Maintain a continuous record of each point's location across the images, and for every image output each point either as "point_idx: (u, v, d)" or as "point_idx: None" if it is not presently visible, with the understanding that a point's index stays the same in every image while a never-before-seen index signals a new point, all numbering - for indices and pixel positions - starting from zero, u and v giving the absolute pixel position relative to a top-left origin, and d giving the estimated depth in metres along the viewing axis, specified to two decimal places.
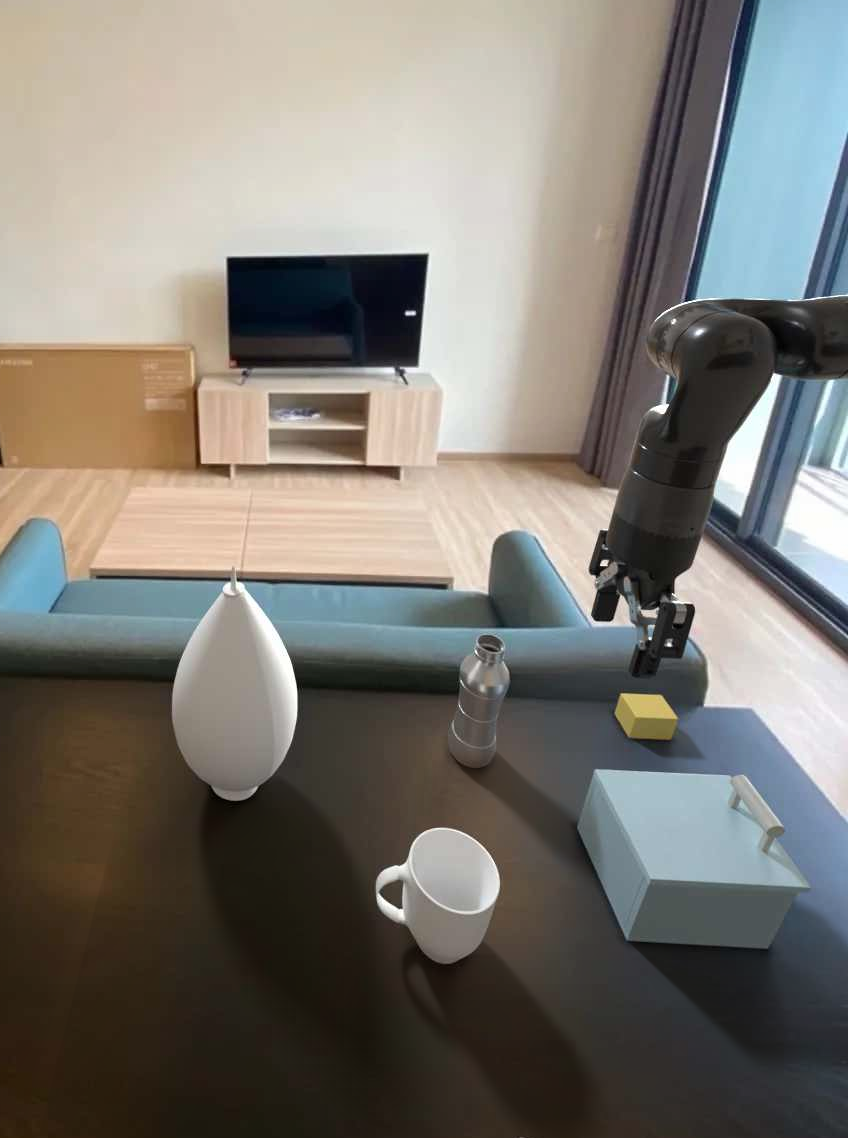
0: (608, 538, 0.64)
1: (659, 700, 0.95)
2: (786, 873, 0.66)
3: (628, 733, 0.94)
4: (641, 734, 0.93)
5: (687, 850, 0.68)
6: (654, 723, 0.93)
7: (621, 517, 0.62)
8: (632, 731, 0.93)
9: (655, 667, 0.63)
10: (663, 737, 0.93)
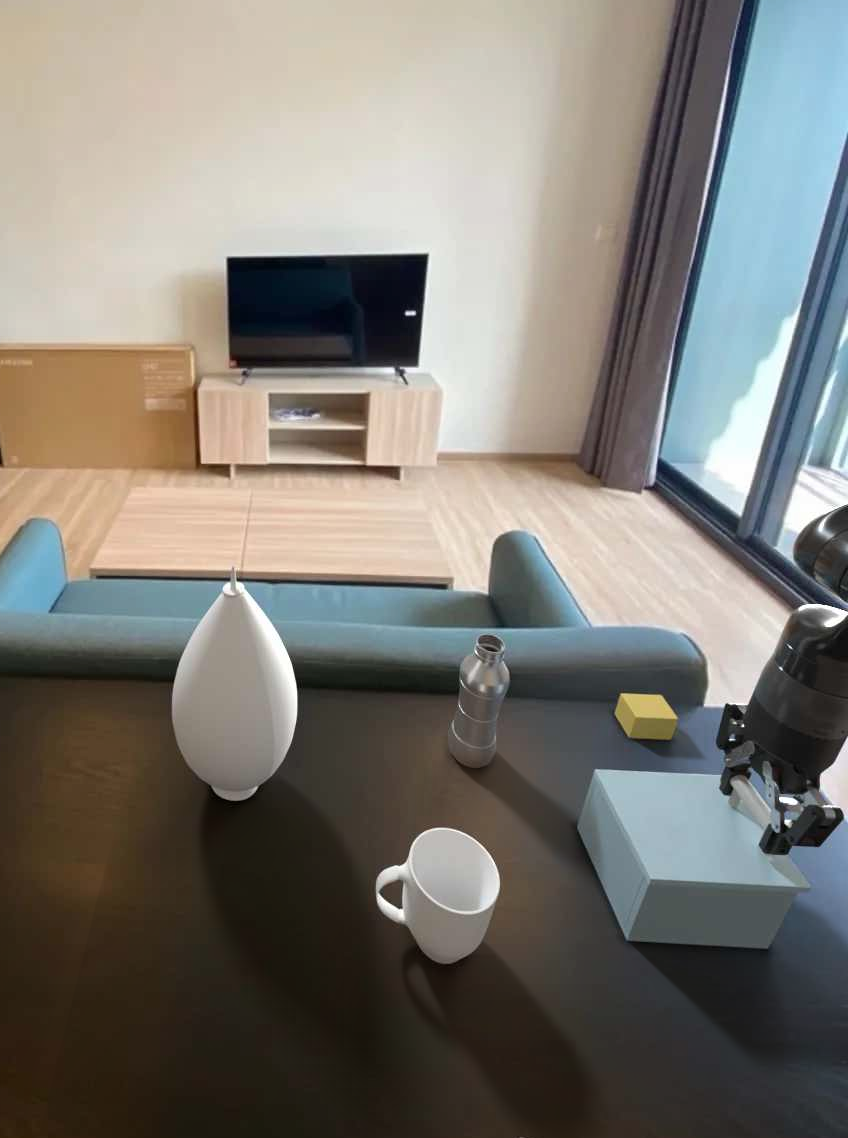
0: (748, 723, 0.66)
1: (659, 700, 0.95)
2: (786, 873, 0.66)
3: (628, 733, 0.94)
4: (641, 734, 0.93)
5: (687, 850, 0.68)
6: (654, 723, 0.93)
7: (766, 709, 0.64)
8: (632, 731, 0.93)
9: (788, 847, 0.66)
10: (663, 737, 0.93)
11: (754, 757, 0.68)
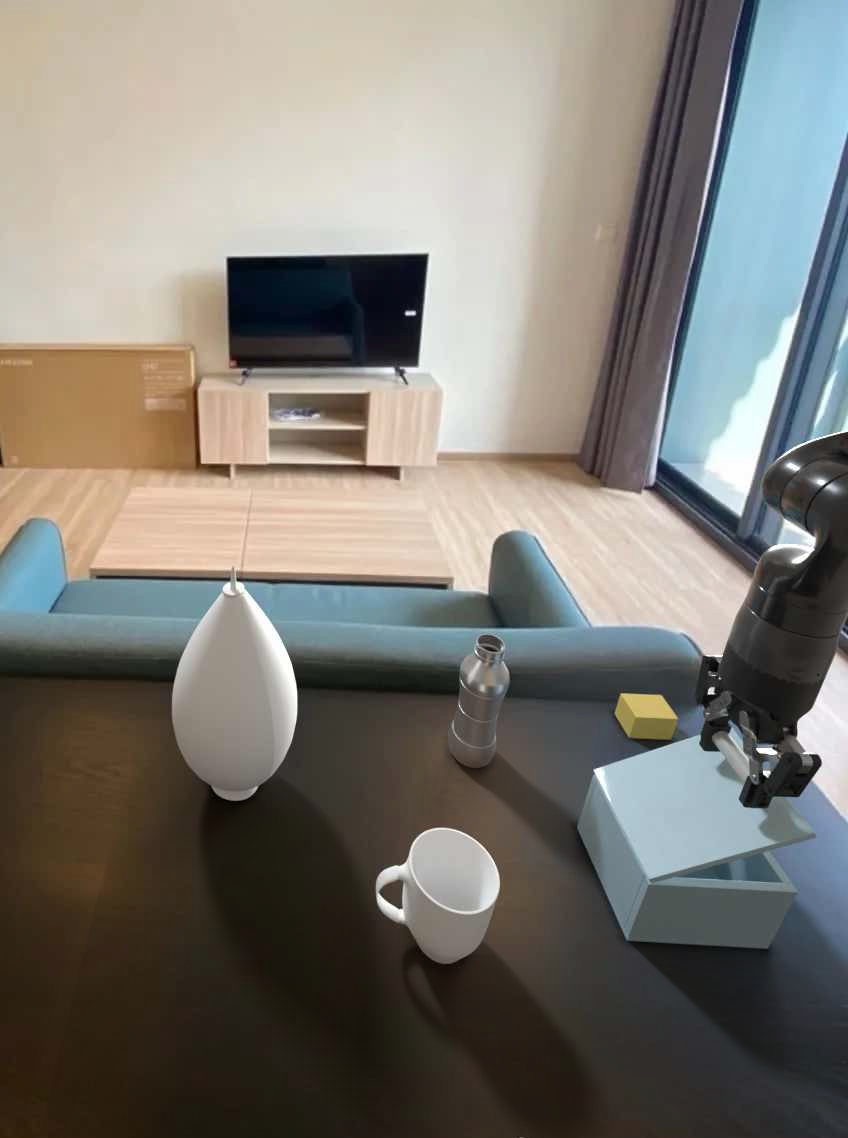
0: (722, 672, 0.64)
1: (659, 700, 0.95)
2: (787, 824, 0.63)
3: (628, 733, 0.94)
4: (641, 734, 0.93)
5: (685, 832, 0.67)
6: (654, 723, 0.93)
7: (739, 656, 0.61)
8: (632, 731, 0.93)
9: (768, 800, 0.63)
10: (663, 737, 0.93)
11: (732, 708, 0.66)
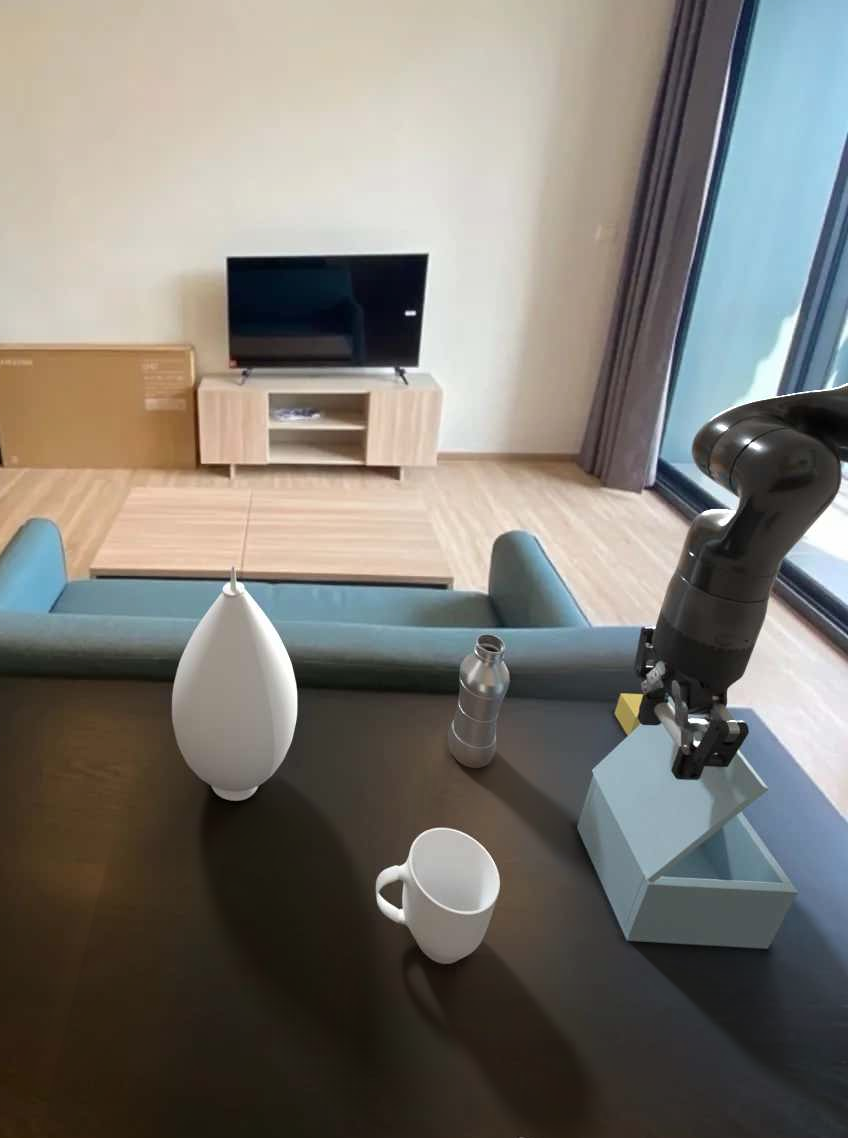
0: (655, 641, 0.62)
1: None
2: (740, 783, 0.61)
3: (628, 733, 0.94)
4: None
5: (666, 819, 0.66)
6: None
7: (670, 623, 0.60)
8: (632, 731, 0.93)
9: (699, 771, 0.62)
10: None
11: (666, 679, 0.65)
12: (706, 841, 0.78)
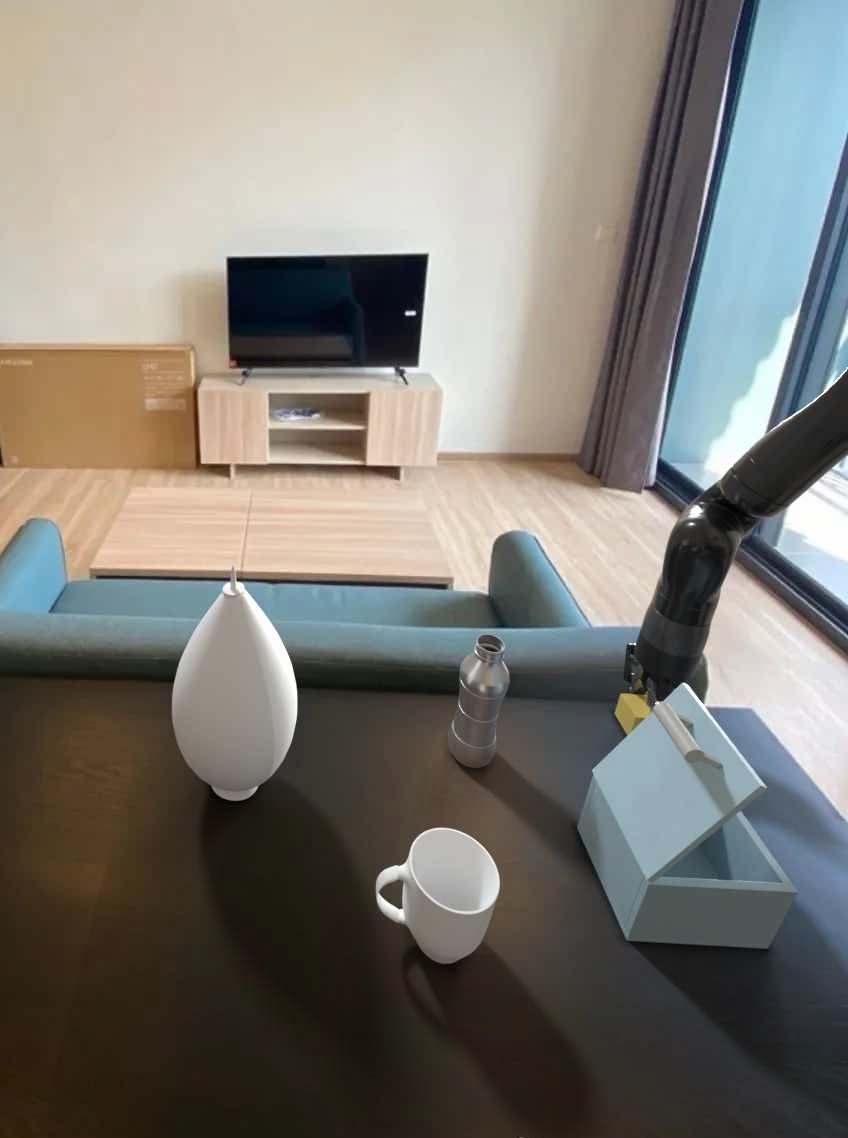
0: (636, 650, 0.91)
1: None
2: (739, 783, 0.61)
3: (628, 733, 0.94)
4: None
5: (665, 818, 0.66)
6: None
7: (646, 639, 0.89)
8: None
9: None
10: None
11: (644, 678, 0.94)
12: (706, 841, 0.78)
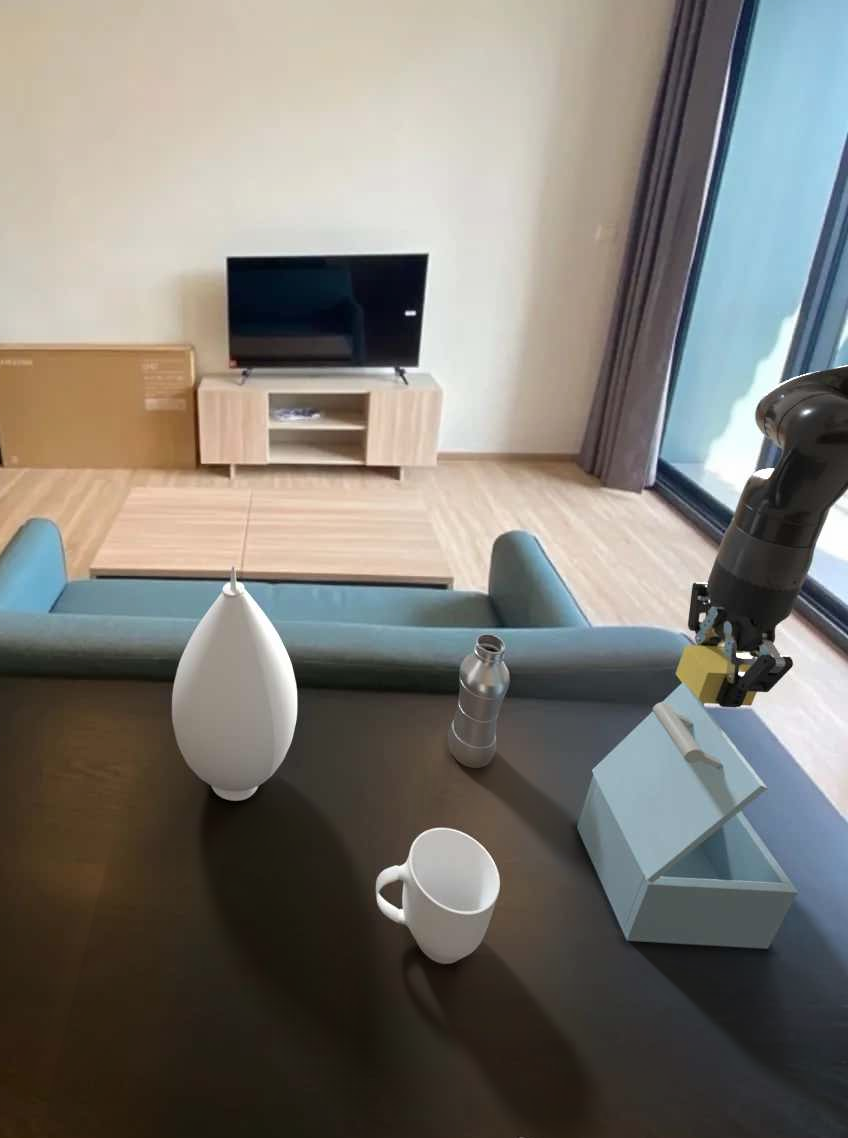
0: (710, 586, 0.71)
1: None
2: (739, 783, 0.61)
3: (697, 694, 0.73)
4: (714, 695, 0.73)
5: (665, 818, 0.66)
6: None
7: (725, 569, 0.68)
8: (702, 691, 0.73)
9: (742, 698, 0.71)
10: None
11: (719, 623, 0.73)
12: (706, 841, 0.78)
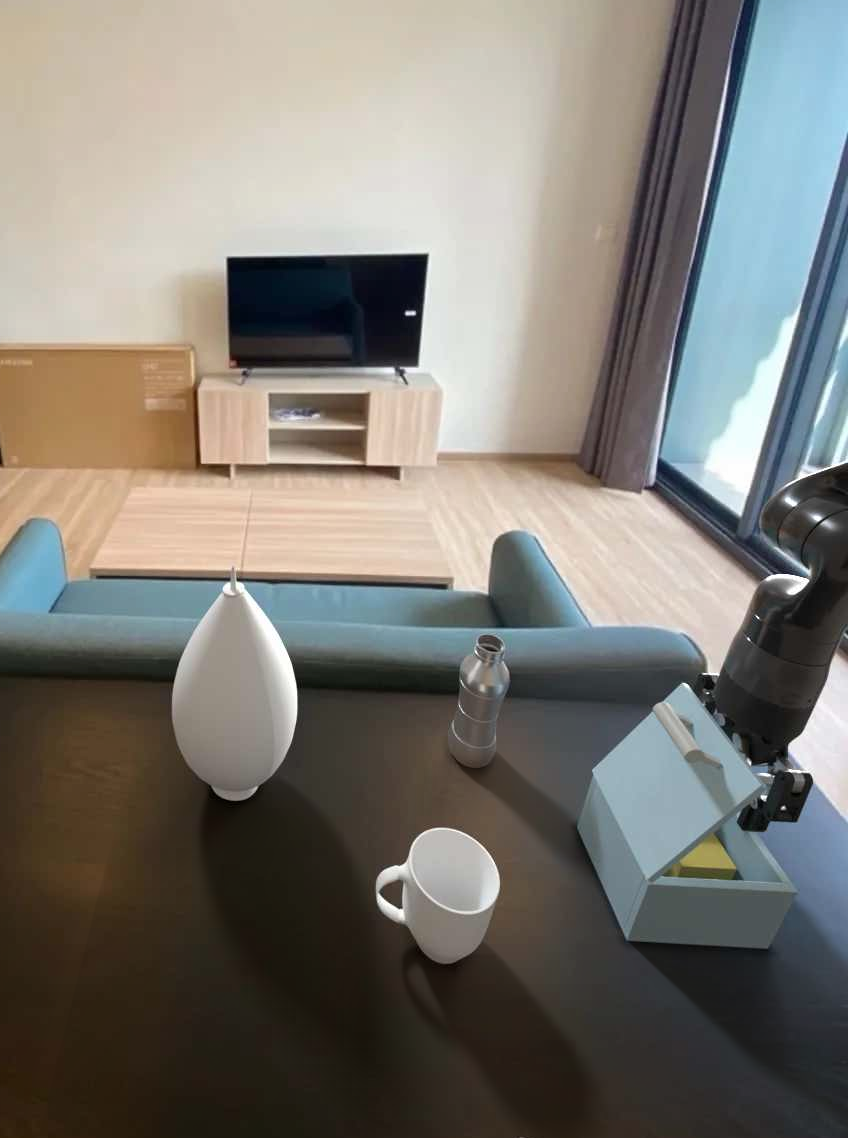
0: (717, 695, 0.66)
1: (710, 839, 0.75)
2: (739, 783, 0.61)
3: None
4: None
5: (665, 818, 0.66)
6: (706, 874, 0.72)
7: (734, 680, 0.64)
8: None
9: (766, 824, 0.64)
10: None
11: (723, 728, 0.69)
12: None
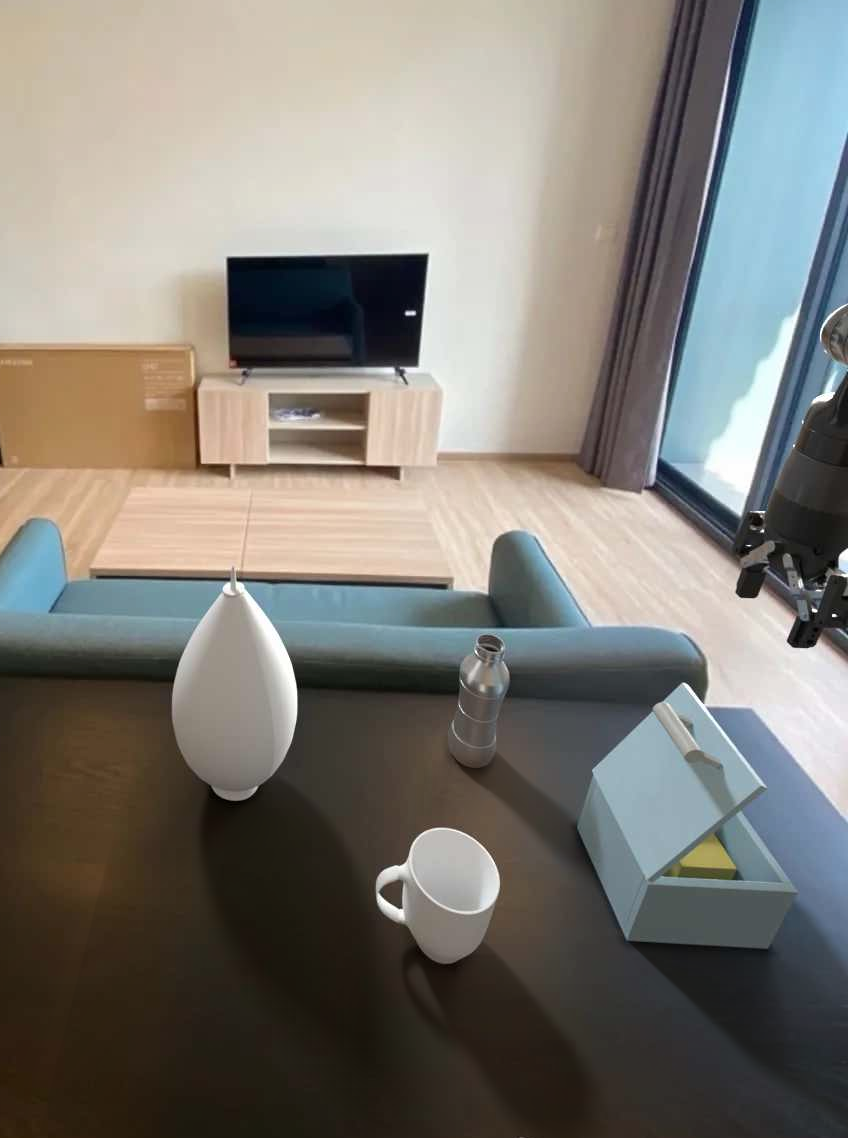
0: (769, 518, 0.69)
1: (710, 839, 0.75)
2: (739, 783, 0.61)
3: None
4: None
5: (665, 818, 0.66)
6: (706, 874, 0.72)
7: (786, 497, 0.66)
8: None
9: (816, 637, 0.67)
10: None
11: (772, 556, 0.71)
12: None
